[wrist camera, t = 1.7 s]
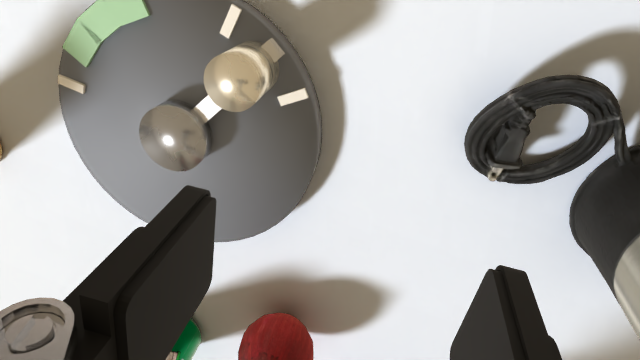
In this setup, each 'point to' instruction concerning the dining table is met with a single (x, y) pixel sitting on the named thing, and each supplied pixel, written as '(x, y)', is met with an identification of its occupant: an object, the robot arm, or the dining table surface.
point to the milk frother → (594, 193)
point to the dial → (188, 86)
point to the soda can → (186, 343)
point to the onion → (276, 339)
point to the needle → (209, 104)
